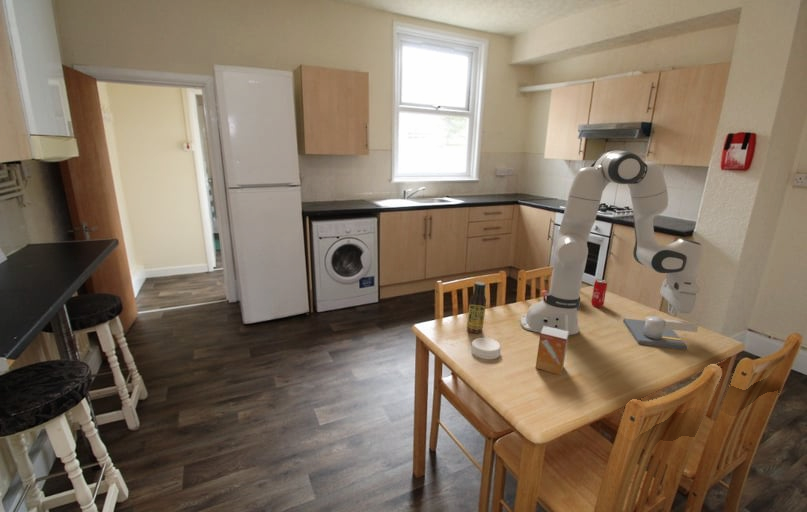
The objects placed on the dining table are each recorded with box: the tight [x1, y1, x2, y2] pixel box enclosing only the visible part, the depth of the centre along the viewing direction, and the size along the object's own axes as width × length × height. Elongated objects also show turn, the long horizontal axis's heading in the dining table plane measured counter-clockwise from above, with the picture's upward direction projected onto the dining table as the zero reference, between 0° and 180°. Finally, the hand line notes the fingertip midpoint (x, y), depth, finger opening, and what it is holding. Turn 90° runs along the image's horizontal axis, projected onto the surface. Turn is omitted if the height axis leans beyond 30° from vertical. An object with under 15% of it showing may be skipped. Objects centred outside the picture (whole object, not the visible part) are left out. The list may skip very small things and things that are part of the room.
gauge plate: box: [622, 317, 688, 351], centre depth 151 cm, size 16×20×2 cm
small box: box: [535, 326, 570, 376], centre depth 125 cm, size 8×6×13 cm
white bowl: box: [471, 337, 502, 360], centre depth 135 cm, size 10×10×4 cm
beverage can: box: [591, 279, 608, 308], centre depth 178 cm, size 5×5×12 cm
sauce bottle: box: [466, 281, 487, 334], centre depth 149 cm, size 6×6×20 cm
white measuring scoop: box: [643, 315, 699, 339], centre depth 145 cm, size 17×6×6 cm, turn 78°
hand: (671, 314), depth 149 cm, fingers closed
